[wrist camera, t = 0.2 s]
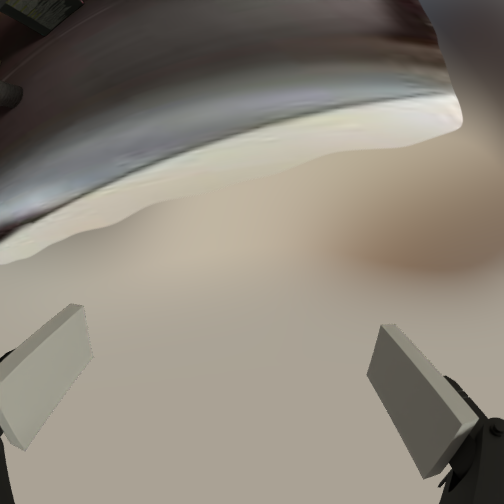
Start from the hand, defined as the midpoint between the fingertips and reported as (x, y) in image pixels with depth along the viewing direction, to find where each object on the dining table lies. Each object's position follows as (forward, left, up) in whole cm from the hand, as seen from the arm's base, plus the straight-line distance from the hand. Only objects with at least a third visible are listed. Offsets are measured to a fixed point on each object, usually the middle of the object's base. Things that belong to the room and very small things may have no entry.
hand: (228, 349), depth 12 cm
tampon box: (-41, -36, -28) cm, 61 cm away
